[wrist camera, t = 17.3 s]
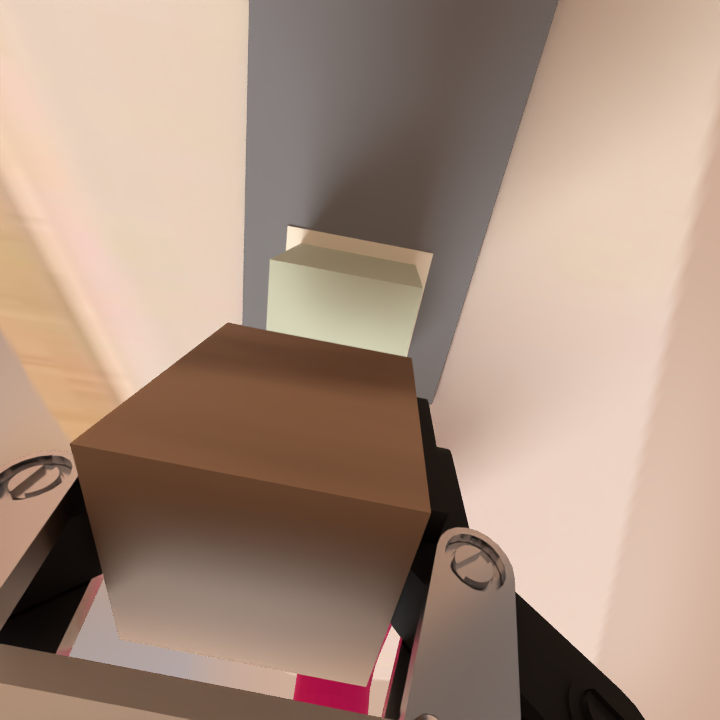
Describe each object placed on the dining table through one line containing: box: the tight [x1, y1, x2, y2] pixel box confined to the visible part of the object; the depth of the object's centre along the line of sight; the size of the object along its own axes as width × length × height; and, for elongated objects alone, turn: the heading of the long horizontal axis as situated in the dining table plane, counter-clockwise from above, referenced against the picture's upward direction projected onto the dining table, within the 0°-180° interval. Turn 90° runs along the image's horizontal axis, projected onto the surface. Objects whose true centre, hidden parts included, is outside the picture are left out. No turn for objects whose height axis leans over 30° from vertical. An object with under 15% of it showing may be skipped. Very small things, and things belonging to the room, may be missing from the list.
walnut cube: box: [70, 323, 431, 687], centre depth 8 cm, size 5×5×5 cm
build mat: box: [242, 0, 559, 404], centre depth 15 cm, size 28×12×1 cm, turn 170°
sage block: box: [266, 243, 423, 357], centre depth 17 cm, size 6×6×5 cm
